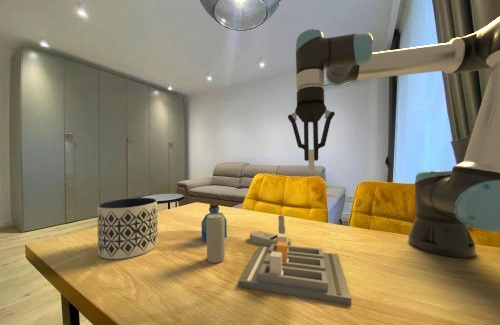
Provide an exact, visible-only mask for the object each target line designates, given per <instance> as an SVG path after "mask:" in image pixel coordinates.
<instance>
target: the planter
mask: <svg viewBox="0 0 500 325" xmlns="http://www.w3.org/2000/svg"><path fill="white" fill-rule="evenodd" d="M96 211H97V212H96V213H97V254H98V256H99V257H101V258H103V259H106V260H125V259H131V258H134V257H137V256H138V257H139V256H141V255H144V254H146V253H148V252H150V251H152V250H153V249H155V248H156V246H157V245H158V244H159V243H158V240H159V238H158V231H159V230H158V200H157V199H156V198H153V197H152V198H151V197H130V198H119V199H114V200H109V201H104V202H102V203H99V204H97V210H96Z"/></svg>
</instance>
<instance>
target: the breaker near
mask: <svg viewBox="0 0 500 325" xmlns="http://www.w3.org/2000/svg"><path fill="white" fill-rule="evenodd" d="M269 273H272V274H279V275H284V270H282V252H274V251H272V252H271V254H270V271H269Z"/></svg>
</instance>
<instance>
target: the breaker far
mask: <svg viewBox="0 0 500 325" xmlns="http://www.w3.org/2000/svg"><path fill="white" fill-rule="evenodd" d="M277 235H278V242H287V243H288V238H289V237H288V234H287V233H285V234H280V233H279V232H278V233H277ZM288 251H289V249H288Z"/></svg>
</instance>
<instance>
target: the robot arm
mask: <svg viewBox="0 0 500 325" xmlns="http://www.w3.org/2000/svg"><path fill="white" fill-rule="evenodd" d="M295 44H296V45H295V63H296V64H295V65H296V66H295V69H296V70H295V73H296V78H295V79H296V80H295V81H296V90H297V91H296V107H295V110H294V112H293V113H291V114H289V115H287V119H288V121H289V122H290V123H291V127H292V129H293V133H294V137H295V140H296V145H297V147H298V148H300V149H302V150H303V151H304V152H303V156H304V161H306V162H308V173H309V174H313V173H314V174H315V161H319V149H321V148H324V147H325V146H326V144H327V143H326V142H327V138H328V134H329V131H330V125H331V121H332V119H333V117H334V116H335V114H336V113H335V112H334V111H331V110H329V109H327V106H326V104H325V89H324V88H325V78H326V81H327V82H328V83H329V84H330V85H331V86H335V87H337V86H342V85H343V84H344V83H346V82H350V81H359V80H368V79H377V78H378V79H379V78H386V77H388V78H389V77H395V76H396V77H398V76H406V75H414V74H415V75H416V74H424V73H433V72H443V73H445V74H446V75H447V74H458V73H459V74H460V73H468V72H477V71H483V70H484V71H485V70H489V69H491V72H490V76H489V78H488V82H487V84H486V88H485V91H484V93H483V98H482V99H481V100H482V101H481V103H480V104H481V105H480V108H479V110H478V114H477V116H476V120H475V123H474V127H473V130H472V133H471V136H470V139H469V142H468V145H467V149H466V152H465V155H464V158H463V161H462V162H460V163H456V164H455V165H453V166H452V170H431V171H422V172H421V171H420V172H418V173H417V174H416V175H415V182H414V185H415V187H414V189H415V190H414V191H415V192H414V193H415V195H414V196H415V198H414V199H415V202H414V203H415V208H414V210H415V217H414V218H415V219H414V221H413V223H412V226H411V228H410V231H409V232H408V243H409V244H411V245H412V246H414V247H415V248H418V249H420V250H423V251H425V252H428V253H432V254H436V255H441V256H446V257H451V258H452V257H453V258H463V259H464V258H466V259H468V258H473V257H475V256H476V253H477V252H476V249H477V248H476V245H475V241H474V240H473V237H472V234H471V233H470V230H469V228H468V227H471V228H474V229H477V230H481V231H484V232H485V231H486V232H492V233H499V232H500V16H499V17H497V18H496V19H495V20H493V21H492V22H490V23H489V24H487V25H486V26H484V27H483V28H481V29H479V30H477V31H475V32H474V33H471V34H468V35H466V36H460V37H455V38H452V39H451V40H449V42H446V43H438V44H437V43H436V44H429V45H423V46H415V47H409V48H401V49H400V48H399V49H392V50H386V51H379V52H377V51H376V52H373V48H374V38H373V35H372V34H371V33H370V32H360V33H358V32H355V33H351V34H345V35H338V36H333V37H332V36H331V37H324V34H323V32H322V30H320V29H314V28H311V29H306V30H304V31H303V32H301V33H300V34H299V35H298V36H297V39H296V43H295ZM324 69H326V73H325V72H324ZM325 75H326V76H325ZM323 116H324V118H325V122H324V126H323V130H322V134H321V138H320V142H319V121H320V120H321V118H322V117H323ZM298 118H299V119H300V121H301V122H302V123H303V143H302V140H301V136H300V132H299V129H298V125H297V119H298ZM309 123H312V129H313V130H312V134H313V135H312V141H313V149H310V148H309V146H310V145H309V139H310V138H309Z"/></svg>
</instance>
